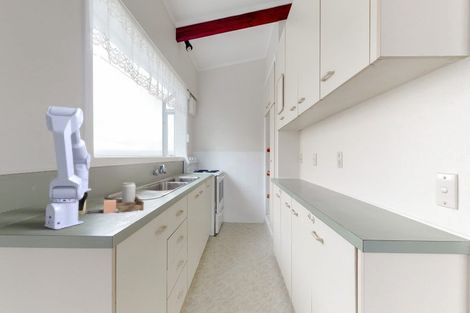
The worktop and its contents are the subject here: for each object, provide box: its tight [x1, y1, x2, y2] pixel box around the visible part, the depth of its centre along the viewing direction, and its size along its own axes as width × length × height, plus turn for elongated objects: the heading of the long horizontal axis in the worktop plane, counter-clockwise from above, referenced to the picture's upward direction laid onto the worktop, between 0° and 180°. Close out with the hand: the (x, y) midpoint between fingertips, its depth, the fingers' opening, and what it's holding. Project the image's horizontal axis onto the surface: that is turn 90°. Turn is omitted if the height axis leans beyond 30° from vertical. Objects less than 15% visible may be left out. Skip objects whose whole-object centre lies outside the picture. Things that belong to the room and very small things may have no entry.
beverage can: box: [121, 182, 137, 203], centre depth 120 cm, size 6×6×12 cm
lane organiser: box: [115, 195, 145, 213], centre depth 116 cm, size 11×18×4 cm, turn 35°
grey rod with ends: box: [78, 199, 117, 216], centre depth 105 cm, size 15×5×6 cm, turn 120°
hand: (79, 209), depth 101 cm, fingers closed on grey rod with ends, 3 cm apart
